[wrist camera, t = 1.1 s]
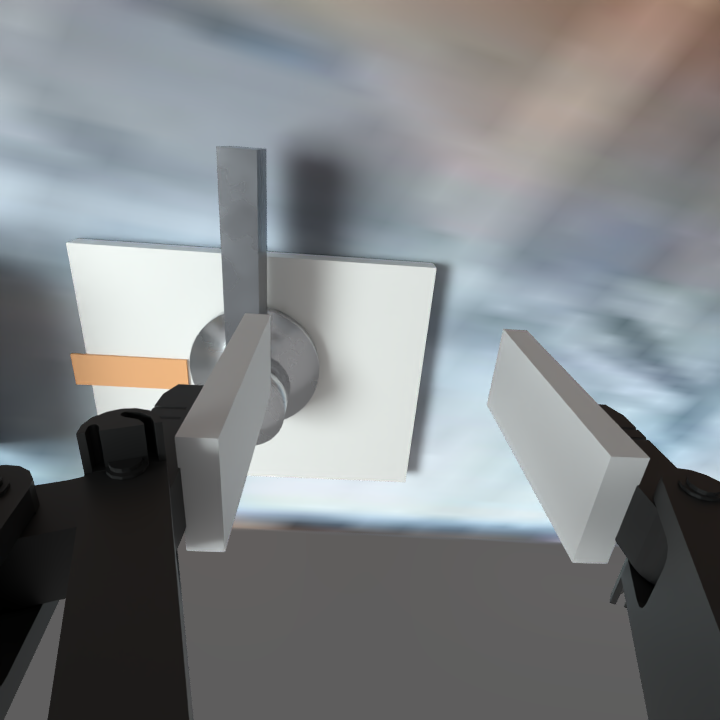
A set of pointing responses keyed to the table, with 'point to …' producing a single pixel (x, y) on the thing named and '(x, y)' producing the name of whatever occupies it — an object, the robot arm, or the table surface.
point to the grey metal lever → (253, 291)
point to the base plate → (286, 294)
